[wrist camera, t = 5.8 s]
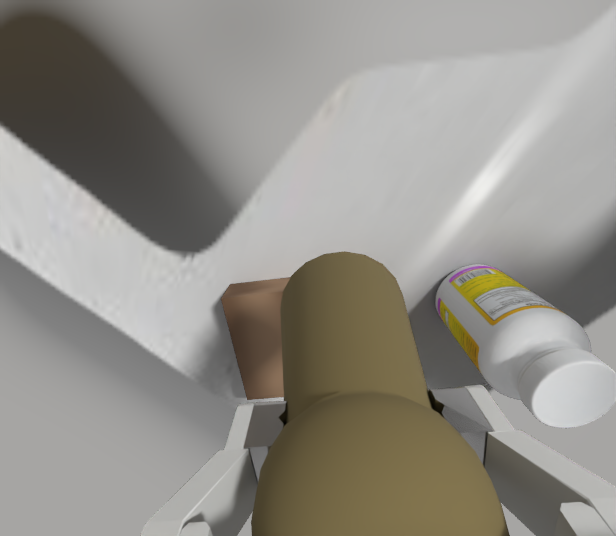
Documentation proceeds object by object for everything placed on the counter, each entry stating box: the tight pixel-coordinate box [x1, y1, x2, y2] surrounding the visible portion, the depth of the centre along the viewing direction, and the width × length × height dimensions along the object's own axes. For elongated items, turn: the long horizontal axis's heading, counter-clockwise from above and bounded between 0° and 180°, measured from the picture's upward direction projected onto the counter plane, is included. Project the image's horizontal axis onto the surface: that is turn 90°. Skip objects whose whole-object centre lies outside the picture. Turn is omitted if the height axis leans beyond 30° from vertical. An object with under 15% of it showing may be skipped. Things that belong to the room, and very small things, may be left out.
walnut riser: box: [221, 277, 291, 400], centre depth 30 cm, size 14×11×3 cm
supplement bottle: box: [435, 264, 616, 428], centre depth 23 cm, size 7×7×13 cm
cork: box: [251, 252, 510, 536], centre depth 10 cm, size 6×6×11 cm
